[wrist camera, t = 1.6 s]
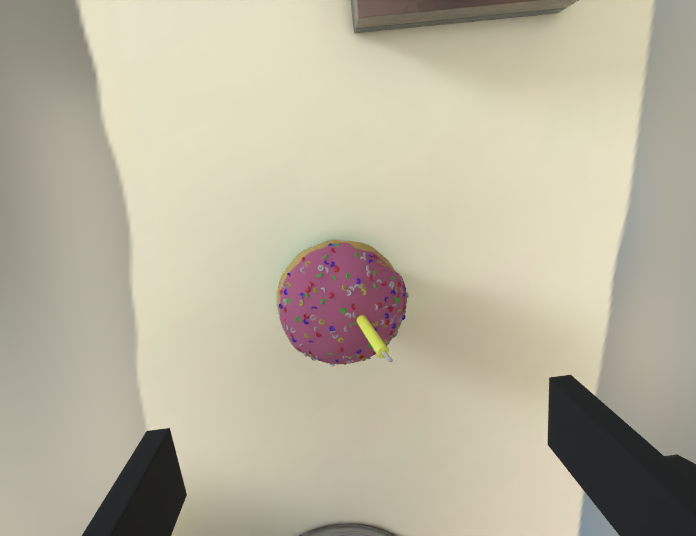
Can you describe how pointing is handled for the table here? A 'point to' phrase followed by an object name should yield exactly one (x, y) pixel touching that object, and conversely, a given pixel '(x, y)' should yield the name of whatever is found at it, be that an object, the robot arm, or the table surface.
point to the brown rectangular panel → (443, 11)
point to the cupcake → (341, 302)
